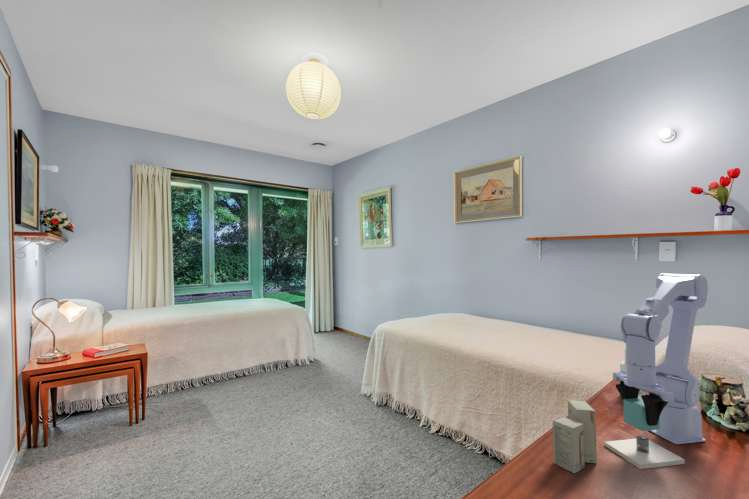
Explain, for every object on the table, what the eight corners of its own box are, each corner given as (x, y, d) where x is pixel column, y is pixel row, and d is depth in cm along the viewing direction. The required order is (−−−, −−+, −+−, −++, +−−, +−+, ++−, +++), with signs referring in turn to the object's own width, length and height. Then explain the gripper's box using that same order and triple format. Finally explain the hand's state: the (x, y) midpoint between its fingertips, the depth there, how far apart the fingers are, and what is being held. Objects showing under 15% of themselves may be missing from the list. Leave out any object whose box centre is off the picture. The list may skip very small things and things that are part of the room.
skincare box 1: (585, 468, 80) (585, 424, 80) (574, 474, 78) (573, 429, 78) (563, 457, 85) (563, 415, 85) (552, 462, 82) (551, 419, 83)
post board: (644, 441, 92) (644, 426, 92) (684, 463, 82) (684, 446, 82) (604, 445, 90) (604, 429, 90) (640, 469, 80) (640, 451, 80)
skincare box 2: (597, 464, 82) (596, 411, 82) (577, 462, 83) (576, 410, 83) (586, 449, 88) (586, 400, 88) (567, 447, 89) (567, 399, 89)
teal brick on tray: (640, 419, 89) (640, 397, 89) (659, 429, 84) (659, 406, 84) (623, 421, 88) (623, 399, 88) (641, 431, 83) (641, 407, 83)
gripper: (602, 356, 93) (603, 407, 93) (654, 374, 78) (655, 435, 78) (625, 354, 94) (626, 405, 94) (681, 372, 80) (682, 433, 79)
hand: (641, 419), depth 86 cm, fingers closed on teal brick on tray, 5 cm apart
